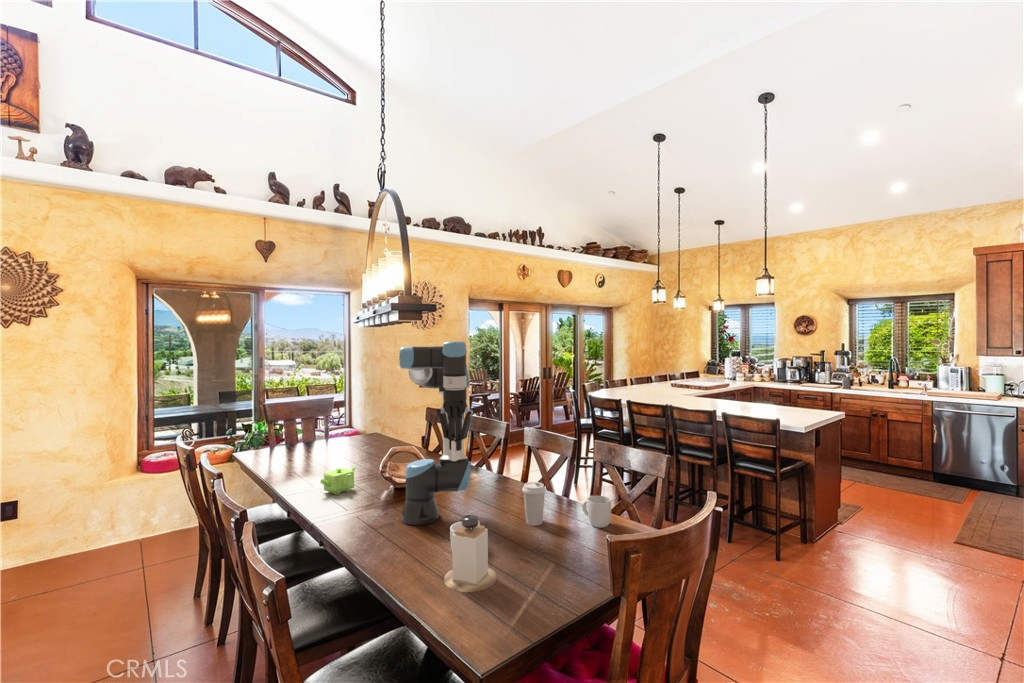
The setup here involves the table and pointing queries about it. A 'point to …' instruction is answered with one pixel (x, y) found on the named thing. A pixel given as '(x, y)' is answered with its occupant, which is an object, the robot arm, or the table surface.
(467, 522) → the plunger
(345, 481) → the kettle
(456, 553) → the white french press
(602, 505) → the mug
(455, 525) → the mug
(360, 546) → the table surface
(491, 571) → the trivet
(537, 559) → the table surface
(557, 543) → the table surface
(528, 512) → the coffee cup
